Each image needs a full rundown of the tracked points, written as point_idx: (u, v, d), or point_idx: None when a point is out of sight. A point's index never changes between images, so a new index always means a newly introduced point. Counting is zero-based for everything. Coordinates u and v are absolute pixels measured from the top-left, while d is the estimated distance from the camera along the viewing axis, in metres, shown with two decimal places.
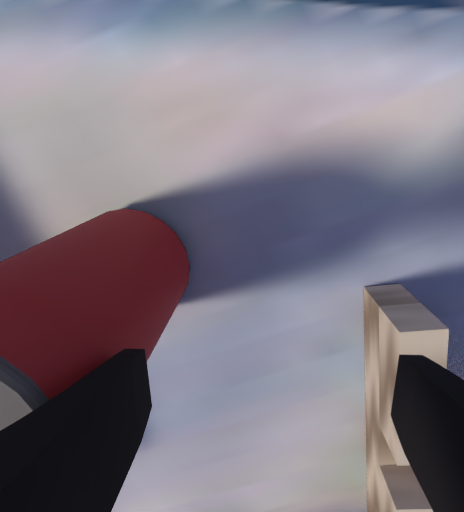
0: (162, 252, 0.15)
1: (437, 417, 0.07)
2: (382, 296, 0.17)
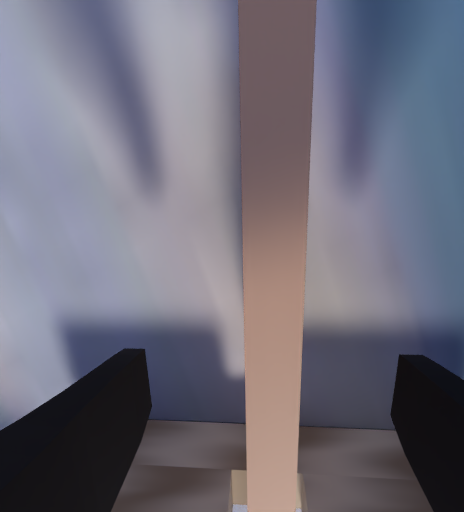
0: None
1: (437, 417, 0.07)
2: None
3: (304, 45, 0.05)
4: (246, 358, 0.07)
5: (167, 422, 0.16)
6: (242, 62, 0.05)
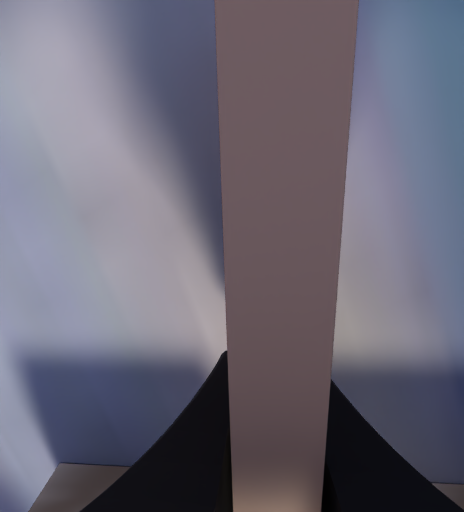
0: None
1: None
2: None
3: None
4: (234, 476, 0.04)
5: None
6: None
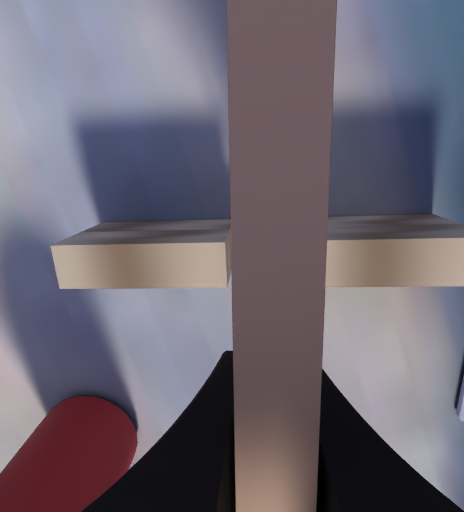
0: (39, 432, 0.19)
1: None
2: None
3: None
4: (236, 422, 0.05)
5: None
6: None
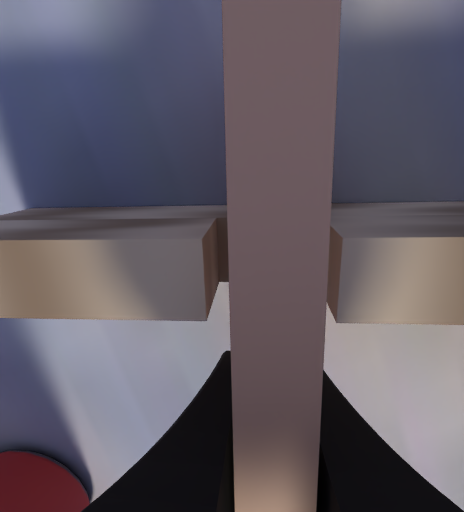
0: None
1: None
2: None
3: (324, 16, 0.03)
4: (236, 475, 0.05)
5: (132, 207, 0.12)
6: (227, 43, 0.03)
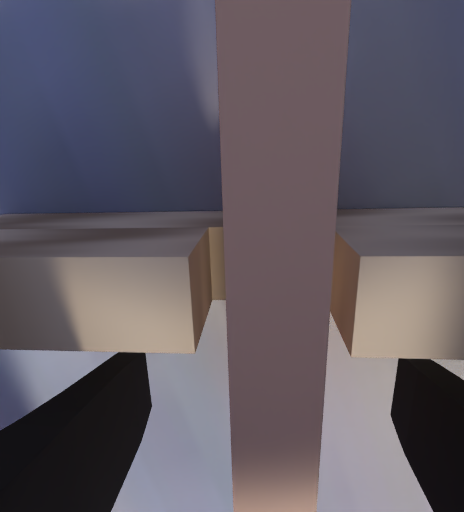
0: None
1: (437, 417, 0.07)
2: None
3: (330, 33, 0.03)
4: (235, 498, 0.05)
5: (116, 213, 0.11)
6: (222, 63, 0.03)
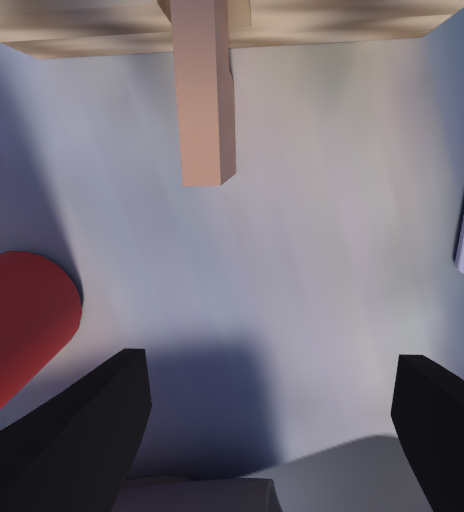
0: None
1: (437, 417, 0.07)
2: None
3: None
4: (171, 13, 0.09)
5: None
6: None
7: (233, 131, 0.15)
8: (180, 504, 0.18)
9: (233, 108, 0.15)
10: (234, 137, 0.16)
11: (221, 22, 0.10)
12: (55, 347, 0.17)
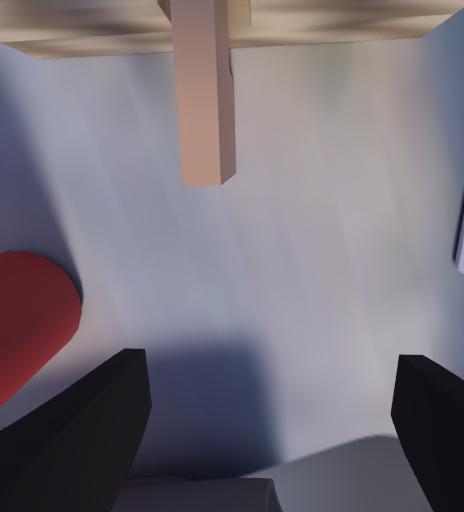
0: None
1: (437, 417, 0.07)
2: None
3: None
4: (171, 13, 0.09)
5: None
6: None
7: (233, 131, 0.15)
8: (180, 504, 0.18)
9: (233, 108, 0.15)
10: (234, 137, 0.16)
11: (221, 22, 0.10)
12: (54, 348, 0.17)
